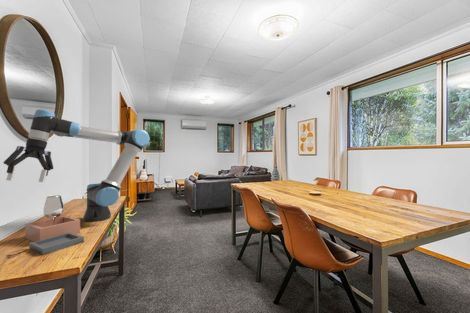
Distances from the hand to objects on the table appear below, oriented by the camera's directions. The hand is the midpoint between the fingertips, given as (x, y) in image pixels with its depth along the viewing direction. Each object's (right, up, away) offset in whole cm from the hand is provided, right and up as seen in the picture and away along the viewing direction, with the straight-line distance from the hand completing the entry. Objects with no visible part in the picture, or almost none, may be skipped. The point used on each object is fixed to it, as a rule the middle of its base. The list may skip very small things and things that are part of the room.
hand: (26, 181), depth 102 cm
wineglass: (+10, -28, +4) cm, 30 cm away
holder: (+10, -28, +4) cm, 30 cm away
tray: (+22, -28, -8) cm, 37 cm away
